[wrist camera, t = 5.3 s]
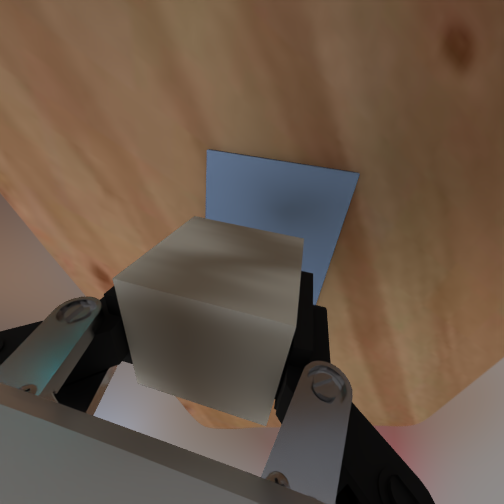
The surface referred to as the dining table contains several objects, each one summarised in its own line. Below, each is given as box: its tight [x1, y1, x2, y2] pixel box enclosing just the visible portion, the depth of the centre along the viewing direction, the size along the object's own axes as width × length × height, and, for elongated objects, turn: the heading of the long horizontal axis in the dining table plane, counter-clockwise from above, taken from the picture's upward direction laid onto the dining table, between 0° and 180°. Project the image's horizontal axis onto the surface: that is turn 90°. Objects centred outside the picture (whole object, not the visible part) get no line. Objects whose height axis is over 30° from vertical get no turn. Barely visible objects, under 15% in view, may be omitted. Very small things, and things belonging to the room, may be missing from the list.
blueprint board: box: [206, 149, 360, 305], centre depth 27 cm, size 14×25×1 cm, turn 173°
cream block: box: [113, 216, 304, 426], centre depth 9 cm, size 5×5×5 cm
